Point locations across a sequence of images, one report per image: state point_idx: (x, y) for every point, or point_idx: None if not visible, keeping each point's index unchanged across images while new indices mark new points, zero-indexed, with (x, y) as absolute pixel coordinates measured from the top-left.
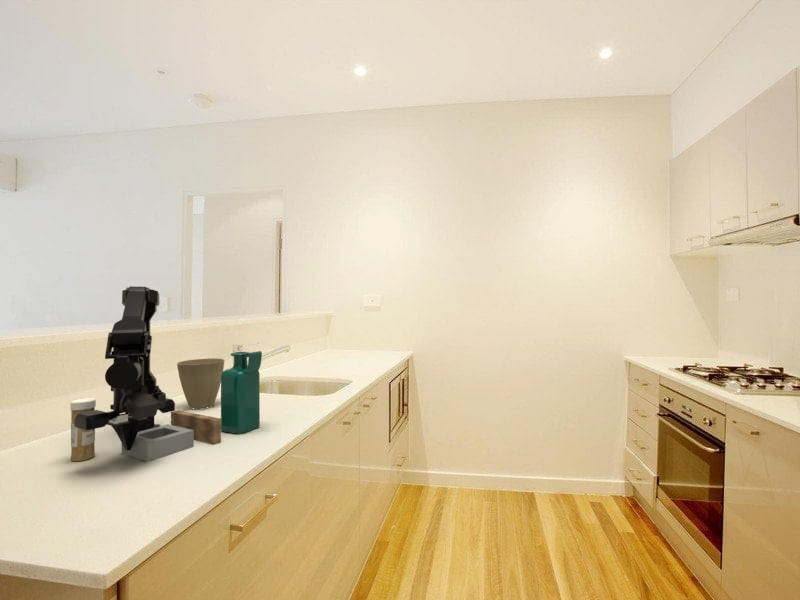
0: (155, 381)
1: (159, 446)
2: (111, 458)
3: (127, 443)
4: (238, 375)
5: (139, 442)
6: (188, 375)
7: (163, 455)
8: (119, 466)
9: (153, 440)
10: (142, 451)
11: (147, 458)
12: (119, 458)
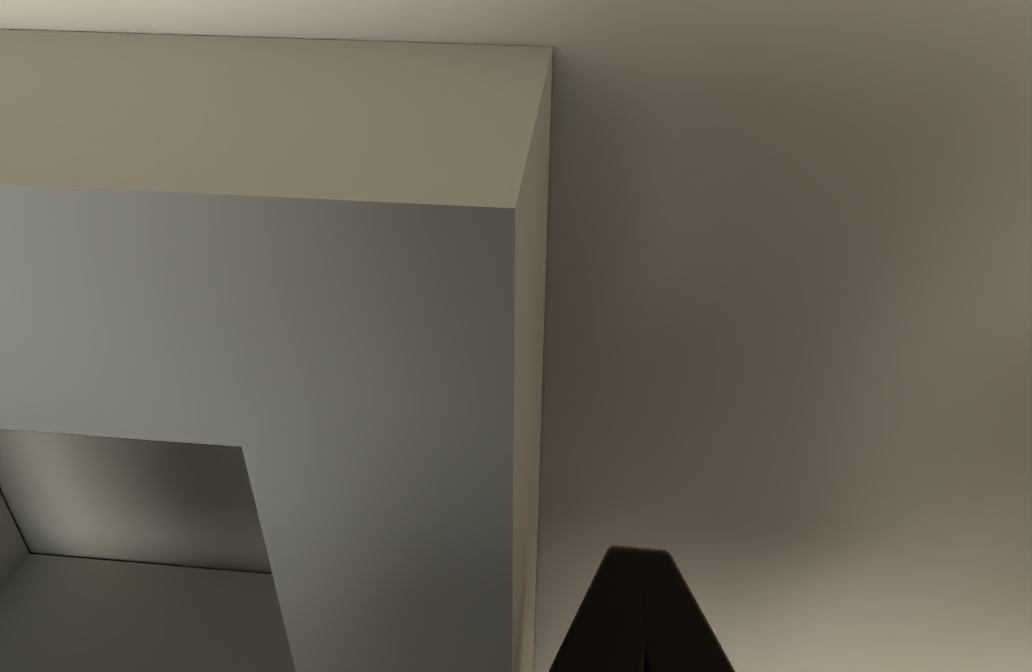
0: None
1: (211, 113)
2: None
3: (703, 667)
4: None
5: (516, 541)
6: None
7: (218, 40)
8: (911, 297)
9: (256, 338)
10: (533, 316)
11: (546, 75)
12: None
